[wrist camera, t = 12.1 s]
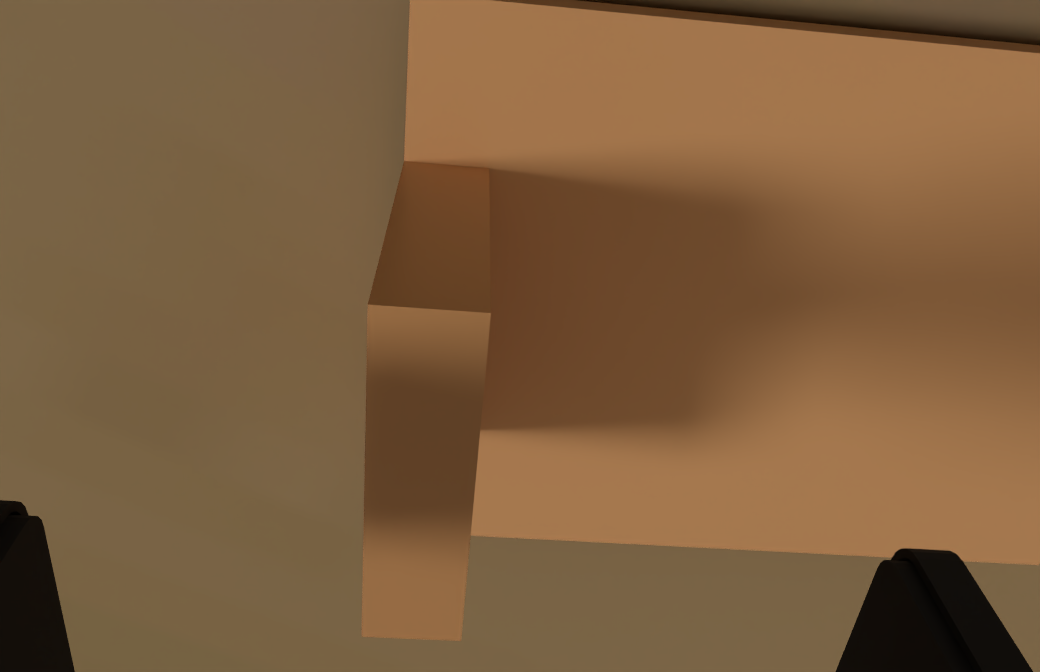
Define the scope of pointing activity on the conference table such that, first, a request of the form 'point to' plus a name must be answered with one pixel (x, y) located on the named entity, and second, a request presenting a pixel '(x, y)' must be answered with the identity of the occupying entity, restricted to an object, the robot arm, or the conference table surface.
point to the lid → (700, 294)
